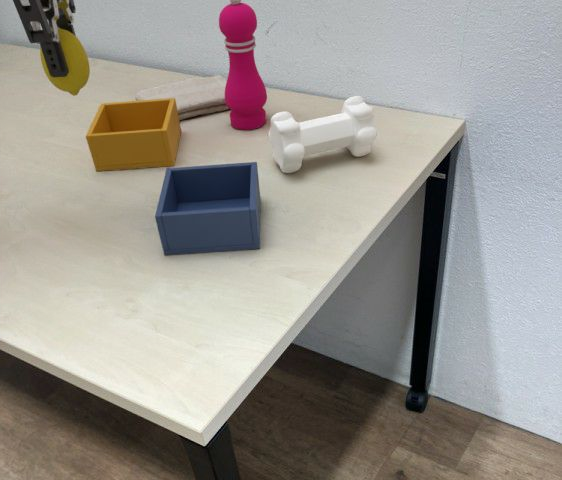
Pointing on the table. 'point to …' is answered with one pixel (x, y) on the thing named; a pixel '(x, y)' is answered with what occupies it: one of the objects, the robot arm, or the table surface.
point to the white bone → (322, 134)
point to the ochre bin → (134, 134)
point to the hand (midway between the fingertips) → (66, 66)
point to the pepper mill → (242, 67)
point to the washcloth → (191, 95)
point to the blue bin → (209, 209)
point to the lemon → (70, 64)
